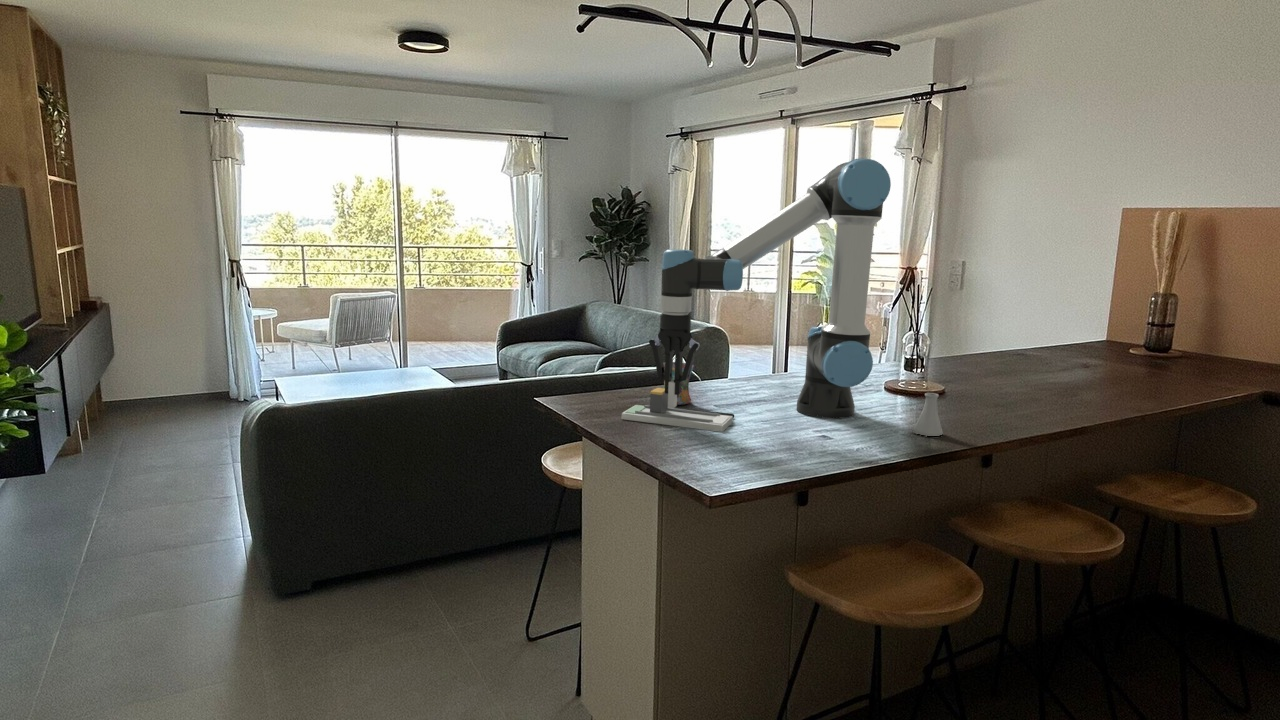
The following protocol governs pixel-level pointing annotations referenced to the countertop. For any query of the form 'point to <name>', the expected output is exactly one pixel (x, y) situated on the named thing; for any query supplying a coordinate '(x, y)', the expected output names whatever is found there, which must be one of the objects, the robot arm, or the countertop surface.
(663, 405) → the block
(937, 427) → the flask
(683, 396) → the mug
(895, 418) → the countertop surface
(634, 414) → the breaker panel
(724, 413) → the cable
